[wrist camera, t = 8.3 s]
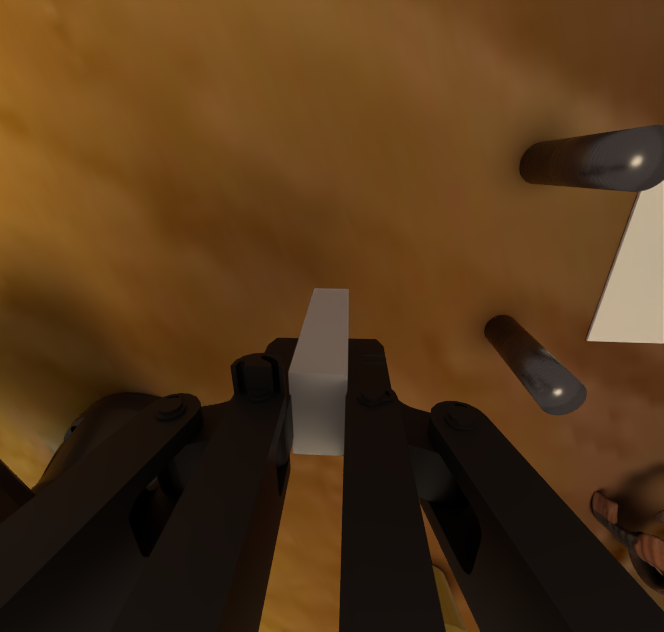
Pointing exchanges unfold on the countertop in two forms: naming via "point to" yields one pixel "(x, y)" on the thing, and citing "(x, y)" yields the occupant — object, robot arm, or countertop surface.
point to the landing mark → (636, 278)
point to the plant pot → (448, 604)
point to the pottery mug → (634, 542)
